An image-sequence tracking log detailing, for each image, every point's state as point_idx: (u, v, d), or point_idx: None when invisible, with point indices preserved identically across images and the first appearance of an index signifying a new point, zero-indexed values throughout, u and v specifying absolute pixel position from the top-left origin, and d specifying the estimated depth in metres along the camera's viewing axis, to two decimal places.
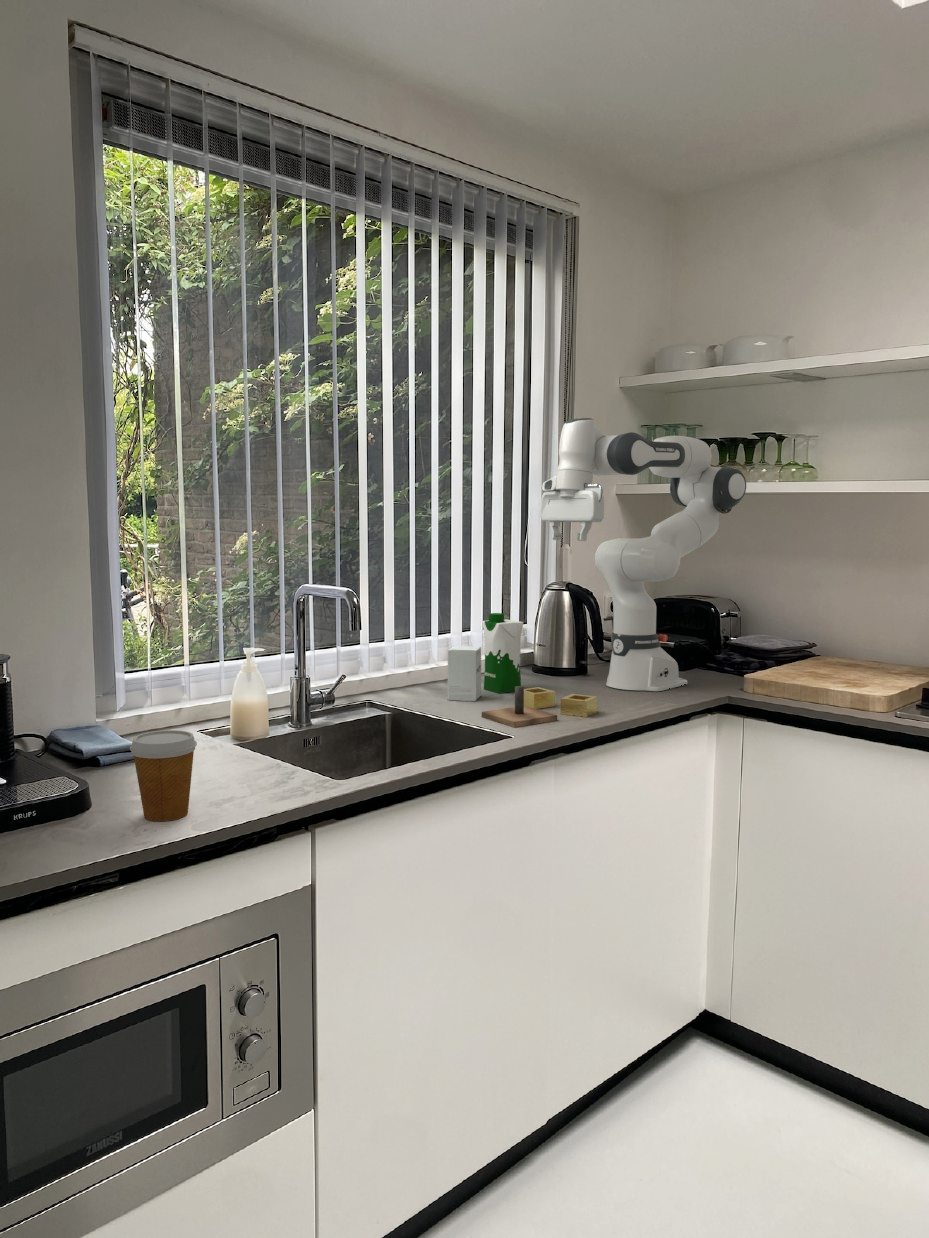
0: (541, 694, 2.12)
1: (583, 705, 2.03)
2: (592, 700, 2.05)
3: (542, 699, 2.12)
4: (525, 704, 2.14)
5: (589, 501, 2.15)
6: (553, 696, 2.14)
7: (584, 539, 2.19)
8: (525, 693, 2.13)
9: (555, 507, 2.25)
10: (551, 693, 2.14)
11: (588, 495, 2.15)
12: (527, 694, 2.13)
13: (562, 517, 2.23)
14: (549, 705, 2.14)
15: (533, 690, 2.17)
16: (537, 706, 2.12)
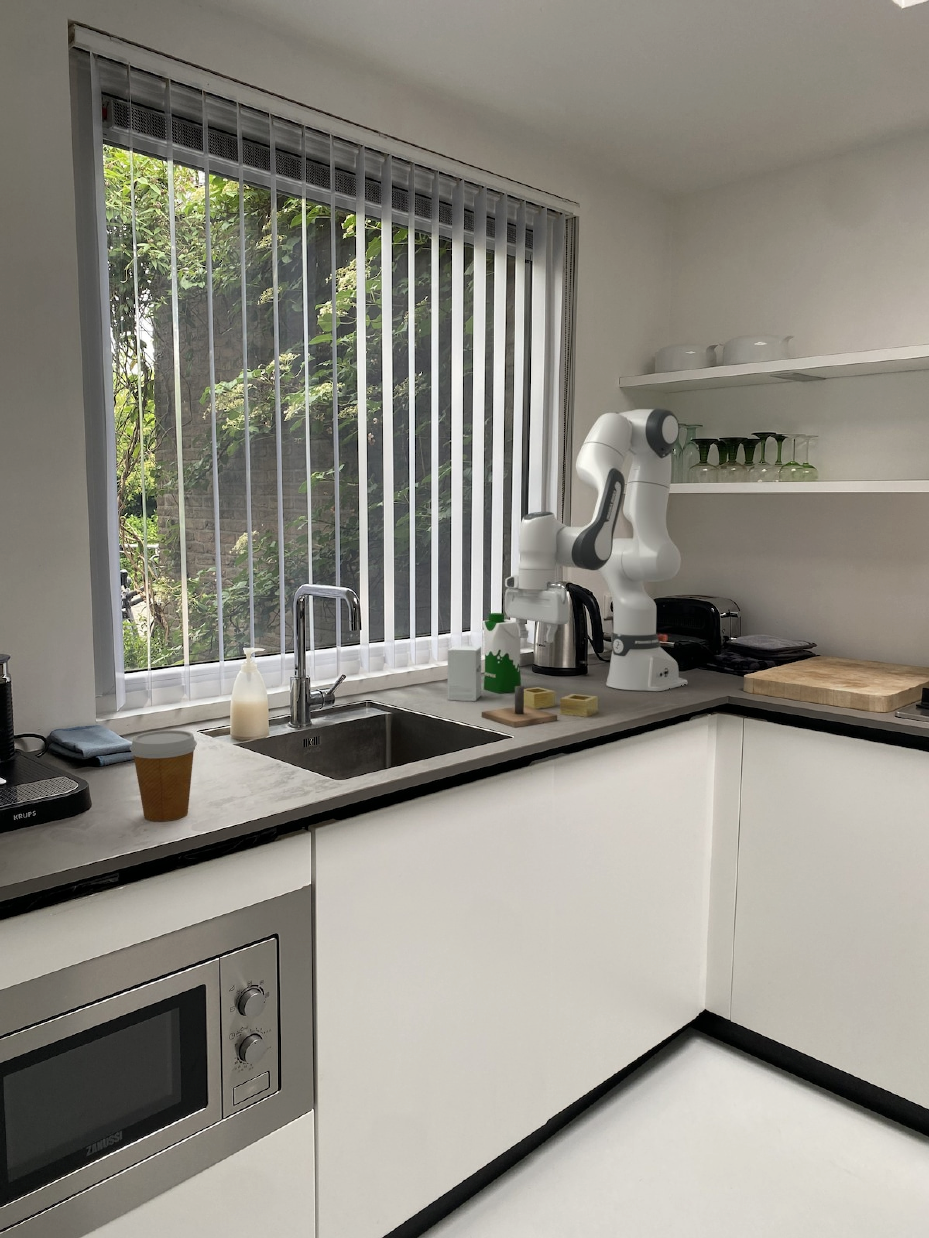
0: (541, 694, 2.12)
1: (583, 705, 2.03)
2: (592, 700, 2.05)
3: (542, 699, 2.12)
4: (525, 704, 2.14)
5: (552, 603, 2.05)
6: (553, 696, 2.14)
7: (551, 640, 2.09)
8: (525, 693, 2.13)
9: (519, 605, 2.15)
10: (551, 693, 2.14)
11: (551, 597, 2.05)
12: (527, 694, 2.13)
13: (527, 617, 2.13)
14: (549, 705, 2.14)
15: (533, 690, 2.17)
16: (537, 706, 2.12)
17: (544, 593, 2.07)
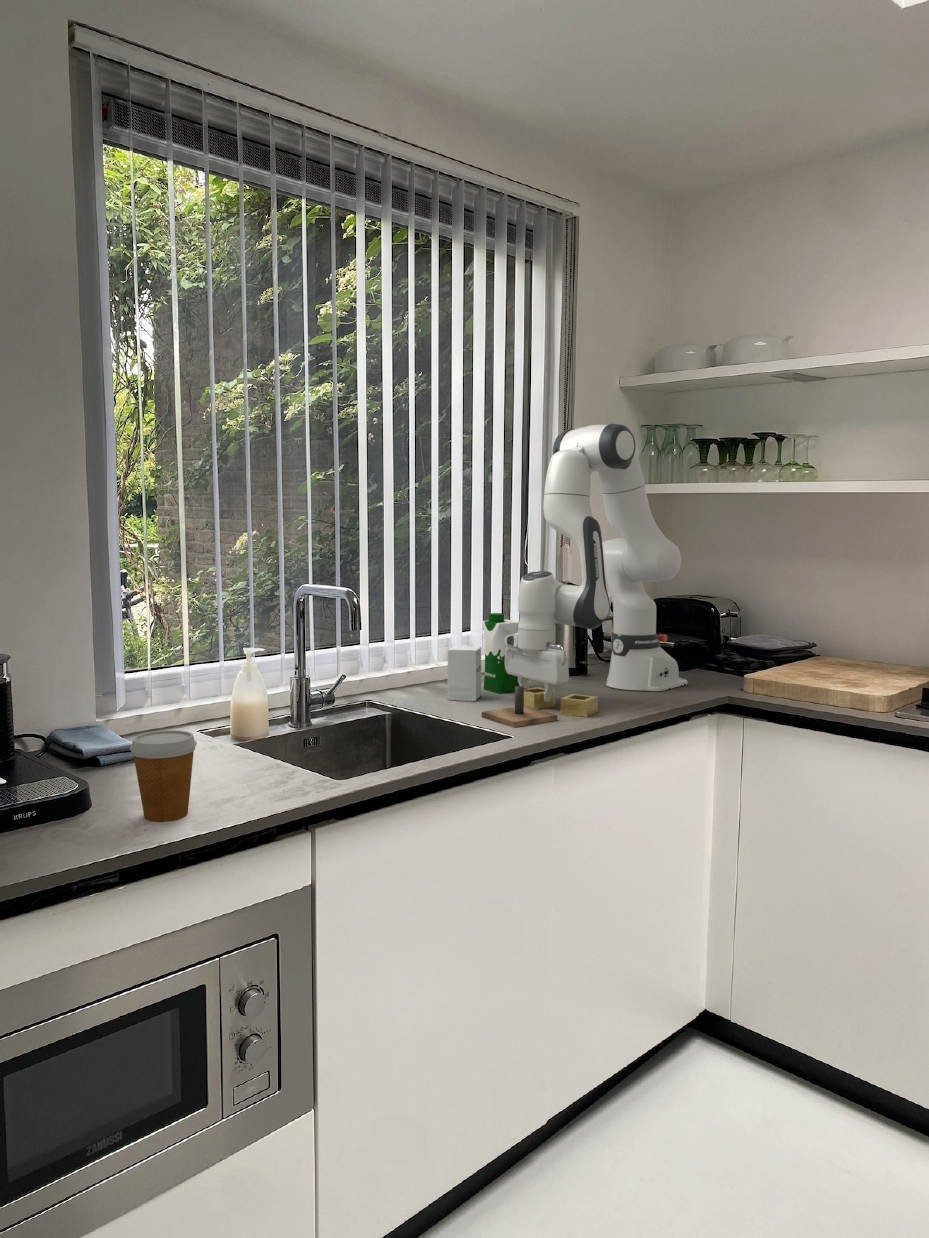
0: (541, 694, 2.12)
1: (583, 705, 2.03)
2: (592, 700, 2.05)
3: None
4: (525, 704, 2.14)
5: (552, 664, 2.07)
6: (553, 696, 2.14)
7: (549, 699, 2.12)
8: (525, 693, 2.13)
9: (519, 663, 2.17)
10: None
11: (551, 658, 2.07)
12: (527, 694, 2.13)
13: (527, 675, 2.14)
14: (549, 705, 2.14)
15: (533, 690, 2.17)
16: (537, 706, 2.12)
17: (543, 653, 2.09)
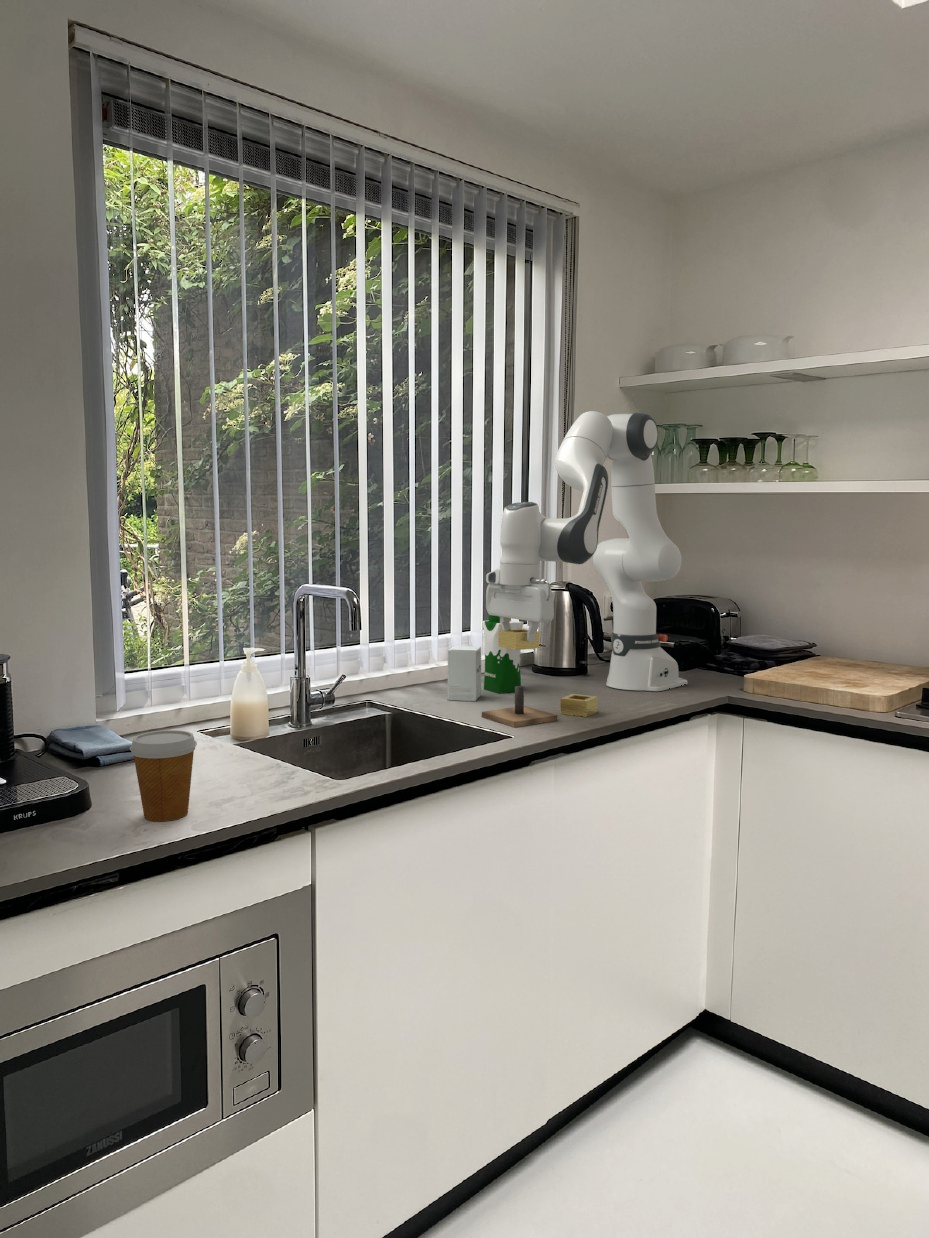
0: (524, 634, 1.96)
1: (583, 705, 2.03)
2: (592, 700, 2.05)
3: None
4: (507, 645, 1.98)
5: (536, 600, 1.91)
6: (537, 637, 1.98)
7: (532, 639, 1.96)
8: (507, 633, 1.98)
9: (501, 602, 2.01)
10: (535, 633, 1.98)
11: (534, 593, 1.91)
12: (509, 634, 1.97)
13: (509, 615, 1.99)
14: (533, 646, 1.98)
15: (516, 631, 2.01)
16: (519, 647, 1.96)
17: (527, 589, 1.93)
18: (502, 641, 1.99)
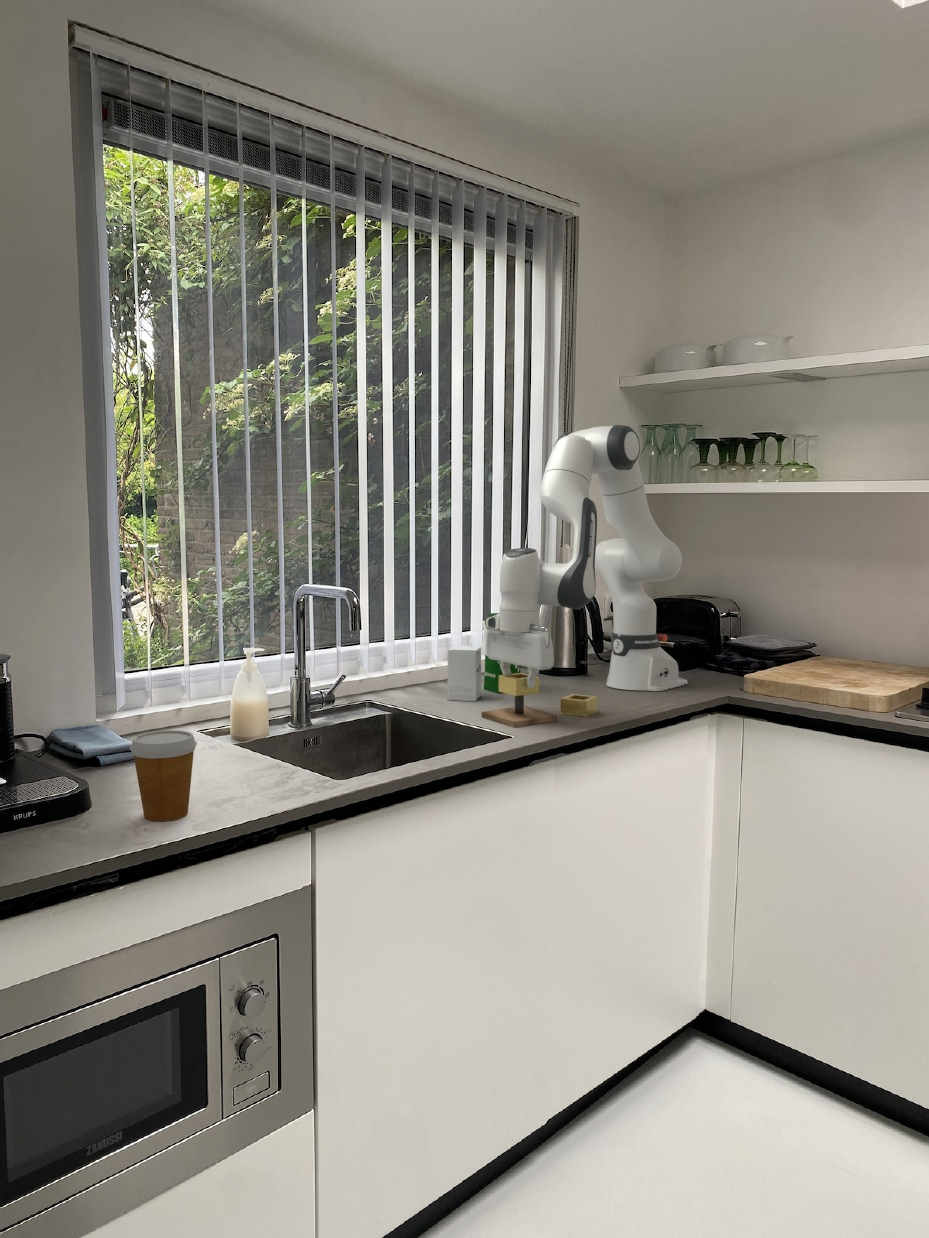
0: (524, 680, 1.97)
1: (583, 705, 2.03)
2: (592, 700, 2.05)
3: None
4: (507, 690, 1.99)
5: (535, 647, 1.92)
6: (537, 682, 1.99)
7: (532, 685, 1.97)
8: (507, 679, 1.99)
9: (501, 647, 2.02)
10: (535, 679, 1.99)
11: (534, 640, 1.92)
12: (509, 680, 1.98)
13: (509, 660, 2.00)
14: (533, 692, 1.99)
15: (516, 675, 2.02)
16: (520, 692, 1.97)
17: (527, 636, 1.94)
18: (502, 686, 2.00)
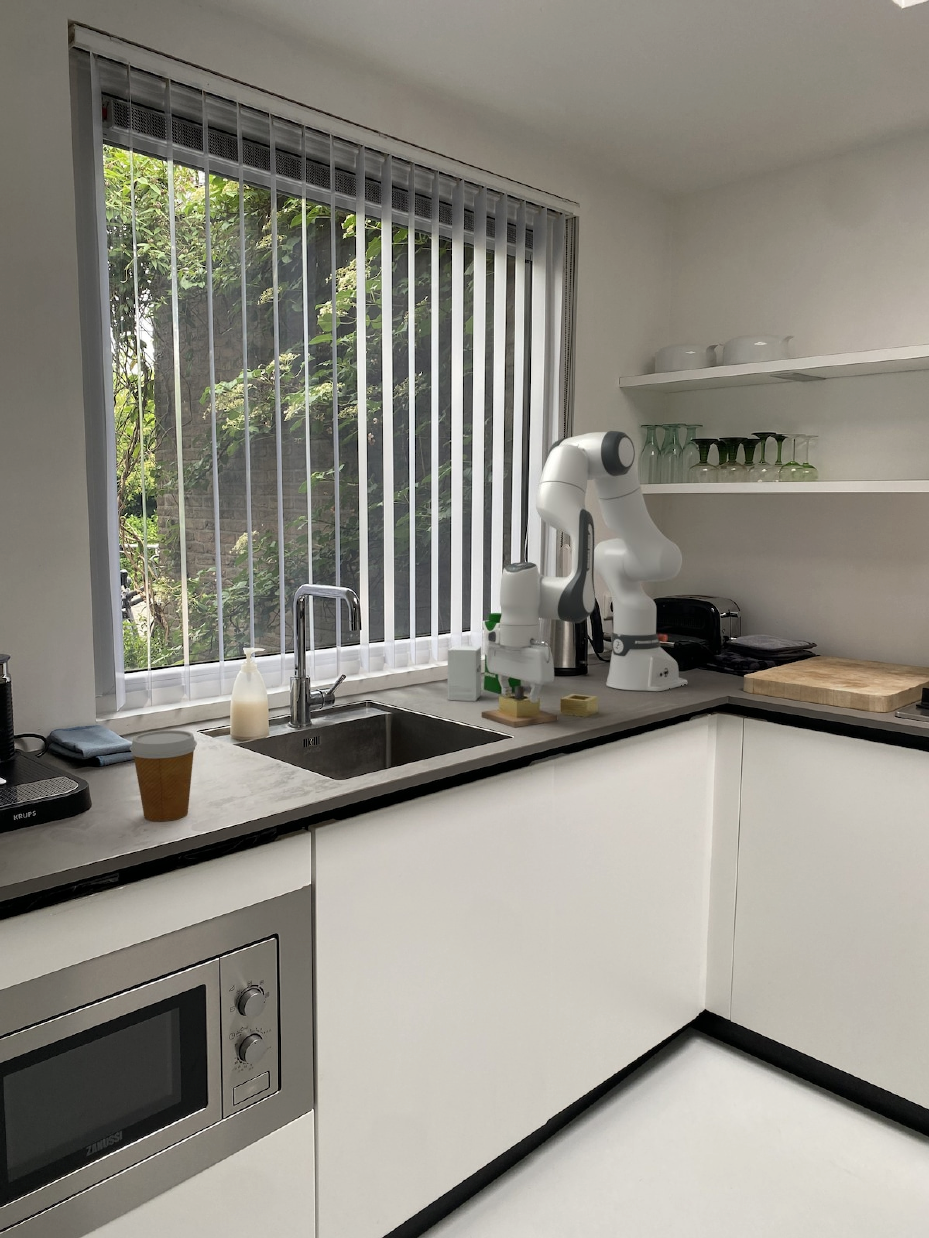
0: (524, 701, 1.98)
1: (583, 705, 2.03)
2: (592, 700, 2.05)
3: (525, 707, 1.98)
4: (507, 712, 1.99)
5: (536, 662, 1.92)
6: (537, 703, 2.00)
7: (535, 700, 1.97)
8: (507, 700, 1.99)
9: (501, 661, 2.02)
10: None
11: (534, 655, 1.92)
12: (510, 701, 1.99)
13: (510, 674, 2.00)
14: (533, 713, 2.00)
15: None
16: (520, 714, 1.97)
17: (527, 650, 1.95)
18: (503, 708, 2.01)
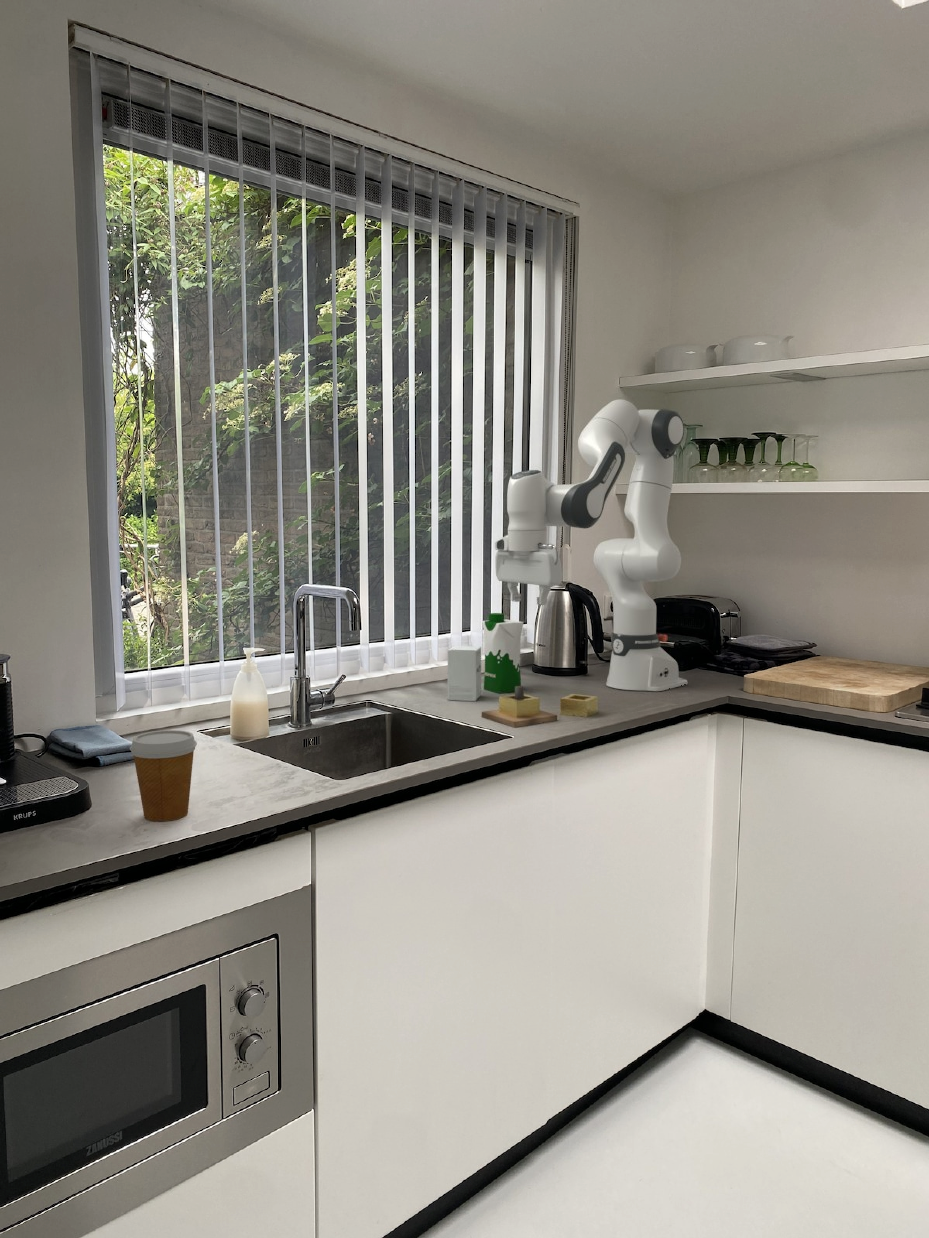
0: (524, 701, 1.98)
1: (583, 705, 2.03)
2: (592, 700, 2.05)
3: (525, 707, 1.98)
4: (507, 712, 1.99)
5: (544, 564, 1.99)
6: (537, 703, 2.00)
7: (544, 603, 2.03)
8: (507, 700, 1.99)
9: (510, 568, 2.09)
10: (535, 700, 2.00)
11: (543, 558, 1.99)
12: (510, 701, 1.99)
13: (519, 580, 2.07)
14: (533, 713, 2.00)
15: None
16: (520, 714, 1.97)
17: (535, 554, 2.01)
18: (503, 708, 2.01)
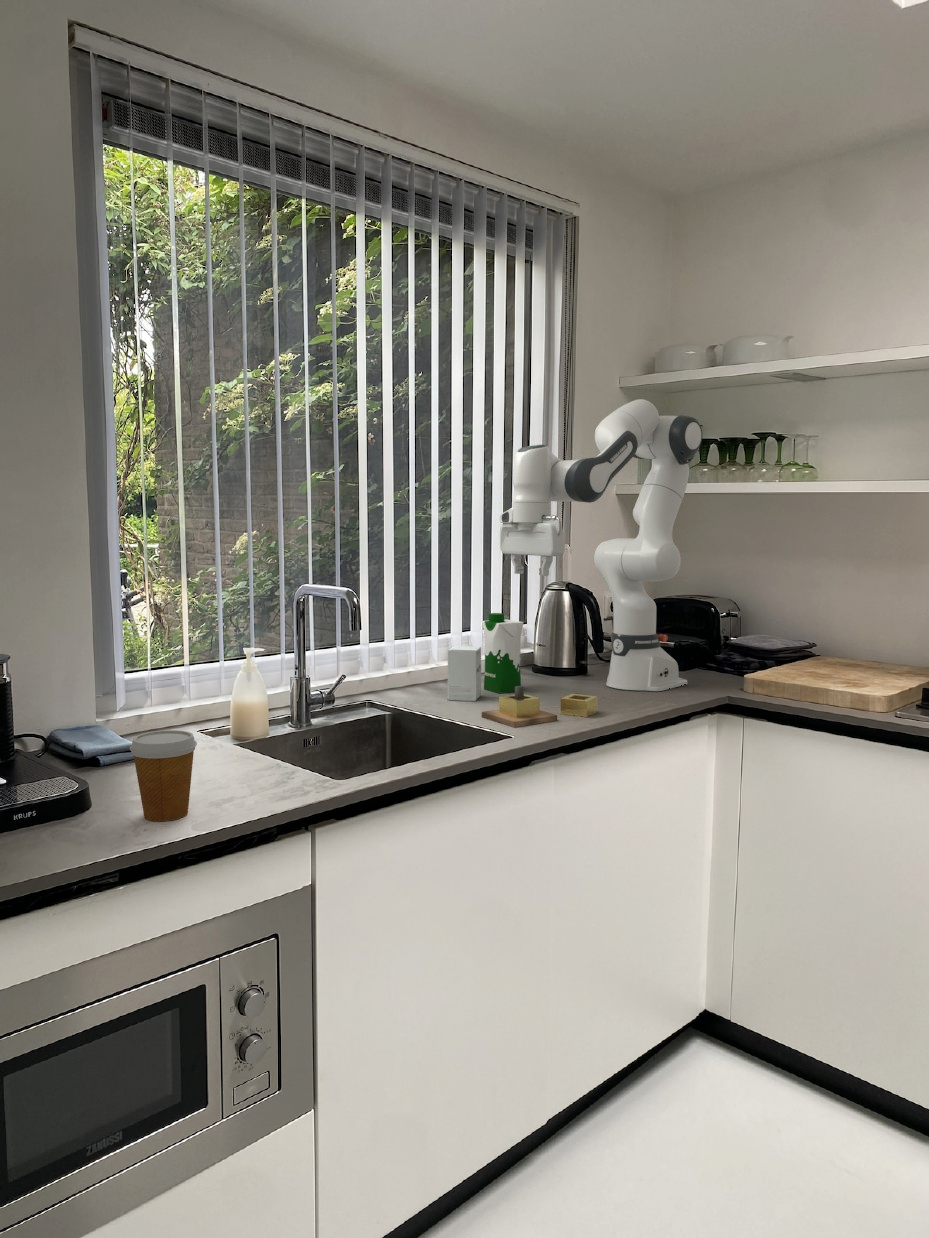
0: (524, 701, 1.98)
1: (583, 705, 2.03)
2: (592, 700, 2.05)
3: (525, 707, 1.98)
4: (507, 712, 1.99)
5: (547, 535, 2.04)
6: (537, 703, 2.00)
7: (546, 574, 2.08)
8: (507, 700, 1.99)
9: (514, 540, 2.14)
10: (535, 700, 2.00)
11: (546, 529, 2.04)
12: (510, 701, 1.99)
13: (522, 551, 2.11)
14: (533, 713, 2.00)
15: None
16: (520, 714, 1.97)
17: (539, 526, 2.06)
18: (503, 708, 2.01)
